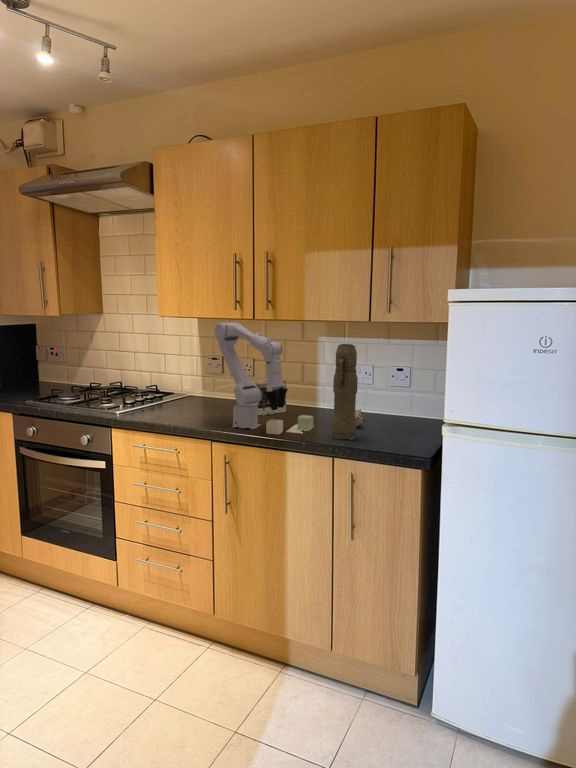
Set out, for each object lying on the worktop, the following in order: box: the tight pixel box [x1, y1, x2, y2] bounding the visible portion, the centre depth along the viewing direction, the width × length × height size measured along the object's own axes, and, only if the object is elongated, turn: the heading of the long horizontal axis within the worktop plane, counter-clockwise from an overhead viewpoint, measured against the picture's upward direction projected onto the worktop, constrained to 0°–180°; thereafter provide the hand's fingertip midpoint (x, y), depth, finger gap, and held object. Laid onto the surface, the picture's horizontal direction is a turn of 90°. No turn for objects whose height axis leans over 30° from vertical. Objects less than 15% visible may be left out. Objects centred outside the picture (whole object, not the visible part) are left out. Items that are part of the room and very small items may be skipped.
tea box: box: [251, 378, 287, 417], centre depth 243 cm, size 15×10×15 cm, turn 126°
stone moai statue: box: [331, 343, 359, 439], centre depth 198 cm, size 9×12×35 cm
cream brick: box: [265, 418, 284, 435], centre depth 206 cm, size 5×5×5 cm
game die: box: [355, 408, 366, 428], centre depth 217 cm, size 9×8×10 cm
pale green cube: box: [297, 414, 314, 431], centre depth 212 cm, size 5×5×5 cm
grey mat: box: [285, 423, 303, 434], centre depth 212 cm, size 12×14×1 cm
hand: (277, 408), depth 205 cm, fingers open, 7 cm apart
